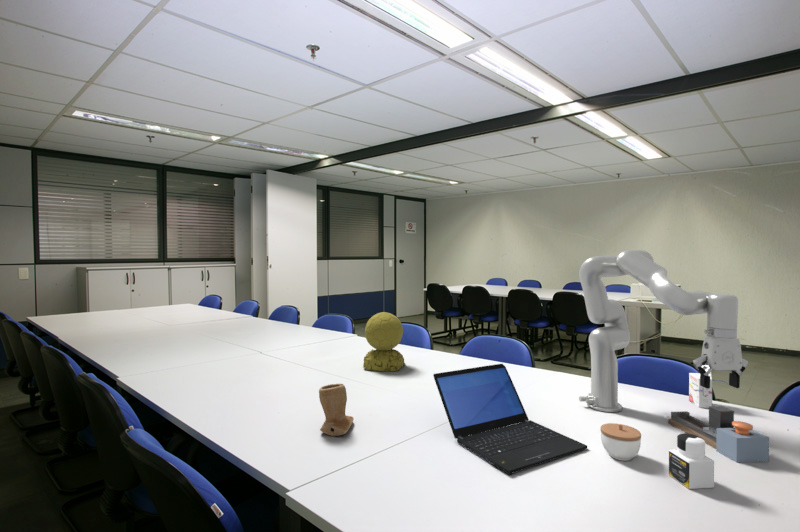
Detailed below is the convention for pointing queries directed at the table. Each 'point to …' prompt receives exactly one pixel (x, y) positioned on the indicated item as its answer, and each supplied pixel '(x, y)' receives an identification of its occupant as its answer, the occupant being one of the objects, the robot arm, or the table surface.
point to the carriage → (719, 419)
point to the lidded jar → (620, 441)
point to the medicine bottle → (691, 463)
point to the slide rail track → (691, 426)
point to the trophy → (383, 343)
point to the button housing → (742, 445)
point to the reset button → (742, 427)
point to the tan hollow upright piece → (334, 409)
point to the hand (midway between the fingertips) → (719, 386)
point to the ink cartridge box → (699, 391)
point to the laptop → (497, 420)
